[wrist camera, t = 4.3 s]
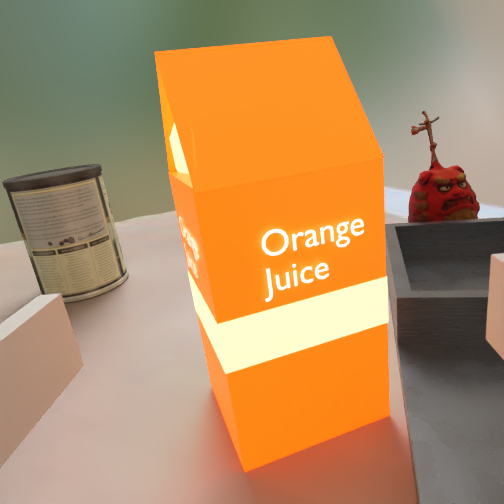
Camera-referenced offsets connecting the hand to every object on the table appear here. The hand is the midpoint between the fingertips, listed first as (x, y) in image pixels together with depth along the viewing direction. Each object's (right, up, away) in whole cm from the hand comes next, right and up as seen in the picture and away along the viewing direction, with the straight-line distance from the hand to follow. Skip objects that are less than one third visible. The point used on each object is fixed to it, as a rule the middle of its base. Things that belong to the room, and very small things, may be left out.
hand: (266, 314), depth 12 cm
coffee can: (-21, -2, +37) cm, 42 cm away
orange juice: (+2, -8, +12) cm, 14 cm away
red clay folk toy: (+22, +3, +34) cm, 40 cm away
